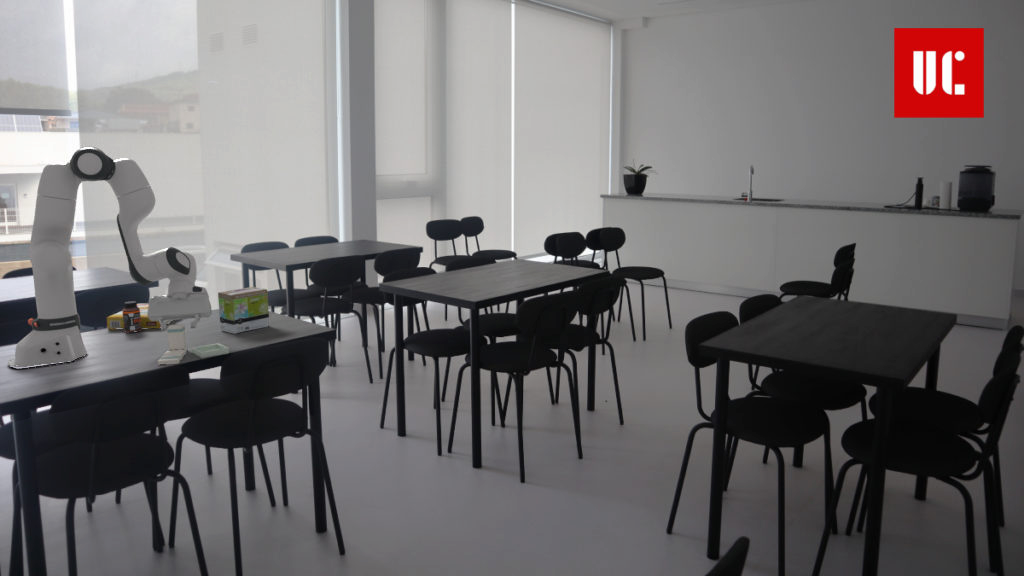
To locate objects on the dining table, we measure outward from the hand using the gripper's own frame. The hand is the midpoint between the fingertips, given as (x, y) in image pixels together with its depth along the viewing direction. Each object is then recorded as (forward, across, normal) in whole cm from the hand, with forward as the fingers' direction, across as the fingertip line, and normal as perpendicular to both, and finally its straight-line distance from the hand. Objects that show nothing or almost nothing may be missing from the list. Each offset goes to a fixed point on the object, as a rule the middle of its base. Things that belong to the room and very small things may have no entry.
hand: (178, 328), depth 261 cm
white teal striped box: (+7, 0, +3) cm, 8 cm away
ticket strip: (+13, 0, -3) cm, 14 cm away
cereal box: (-30, -22, +42) cm, 56 cm away
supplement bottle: (-18, -23, +29) cm, 42 cm away
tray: (+11, +11, 0) cm, 15 cm away
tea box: (-13, +18, +24) cm, 33 cm away
